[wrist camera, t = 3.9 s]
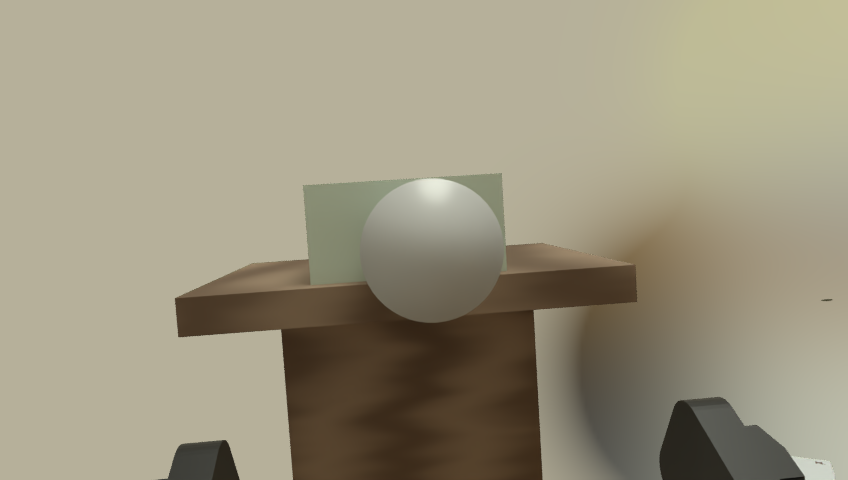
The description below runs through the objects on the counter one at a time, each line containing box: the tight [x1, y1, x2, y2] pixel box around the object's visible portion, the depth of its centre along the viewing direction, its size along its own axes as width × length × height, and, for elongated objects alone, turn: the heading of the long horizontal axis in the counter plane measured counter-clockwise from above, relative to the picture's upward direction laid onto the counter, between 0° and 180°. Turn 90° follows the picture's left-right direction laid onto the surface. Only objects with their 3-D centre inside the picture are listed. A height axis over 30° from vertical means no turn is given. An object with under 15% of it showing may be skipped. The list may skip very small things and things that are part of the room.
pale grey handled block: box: [303, 173, 507, 323], centre depth 23 cm, size 8×20×4 cm, turn 4°
